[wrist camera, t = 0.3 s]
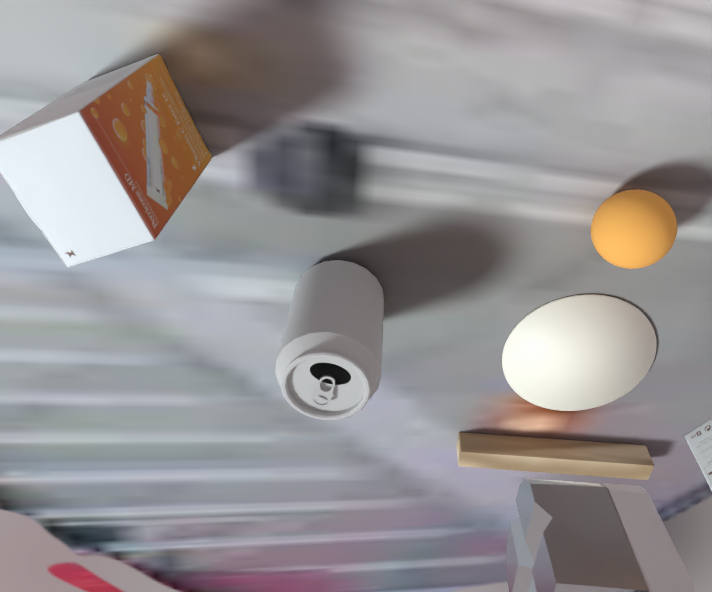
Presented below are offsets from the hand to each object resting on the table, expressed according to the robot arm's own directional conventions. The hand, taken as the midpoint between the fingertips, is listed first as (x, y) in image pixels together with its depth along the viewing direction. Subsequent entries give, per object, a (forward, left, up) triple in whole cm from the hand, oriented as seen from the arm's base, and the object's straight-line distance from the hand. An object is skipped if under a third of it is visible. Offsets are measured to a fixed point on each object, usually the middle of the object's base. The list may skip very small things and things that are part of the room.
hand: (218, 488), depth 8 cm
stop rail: (+39, +20, -38) cm, 58 cm away
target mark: (+27, +20, -38) cm, 51 cm away
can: (+22, -1, -38) cm, 44 cm away
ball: (+13, +20, -35) cm, 42 cm away
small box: (+8, -15, -38) cm, 42 cm away
